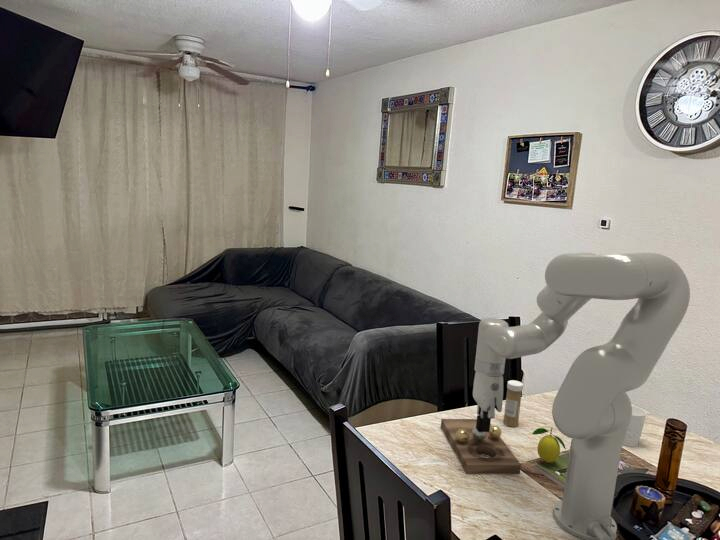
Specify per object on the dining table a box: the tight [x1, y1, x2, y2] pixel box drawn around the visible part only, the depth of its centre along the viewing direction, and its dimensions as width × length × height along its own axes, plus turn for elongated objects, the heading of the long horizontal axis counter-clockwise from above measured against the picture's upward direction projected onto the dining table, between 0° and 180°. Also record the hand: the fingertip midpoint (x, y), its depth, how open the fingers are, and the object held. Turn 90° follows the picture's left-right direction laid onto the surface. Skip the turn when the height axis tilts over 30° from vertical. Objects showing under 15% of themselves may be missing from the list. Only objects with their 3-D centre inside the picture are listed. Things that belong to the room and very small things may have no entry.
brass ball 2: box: [488, 425, 502, 439], centre depth 134 cm, size 4×4×4 cm
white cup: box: [623, 404, 647, 448], centre depth 142 cm, size 8×8×10 cm
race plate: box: [440, 418, 522, 475], centre depth 133 cm, size 24×14×2 cm, turn 6°
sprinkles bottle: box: [502, 379, 524, 428], centre depth 148 cm, size 5×5×14 cm
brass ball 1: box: [456, 429, 469, 443], centre depth 131 cm, size 4×4×4 cm
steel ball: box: [472, 426, 487, 441], centre depth 133 cm, size 4×4×4 cm
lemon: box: [531, 427, 567, 464], centre depth 127 cm, size 7×6×10 cm
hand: (482, 430), depth 130 cm, fingers closed
